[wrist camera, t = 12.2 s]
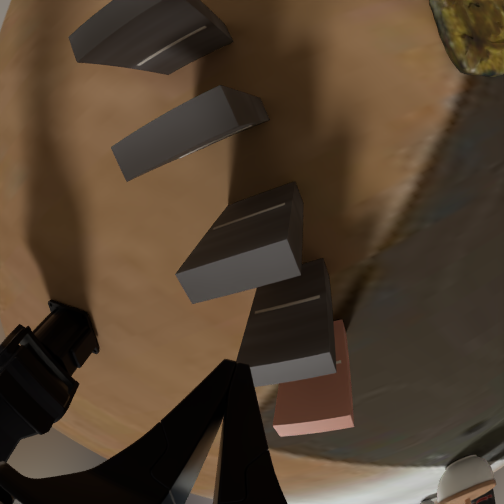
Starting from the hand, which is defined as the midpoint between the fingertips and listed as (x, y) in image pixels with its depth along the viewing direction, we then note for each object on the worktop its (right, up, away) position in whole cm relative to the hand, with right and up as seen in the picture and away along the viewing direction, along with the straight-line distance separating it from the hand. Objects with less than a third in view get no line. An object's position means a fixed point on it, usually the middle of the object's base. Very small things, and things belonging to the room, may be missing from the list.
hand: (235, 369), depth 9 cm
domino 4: (+4, +2, +13) cm, 14 cm away
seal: (+18, +22, +1) cm, 28 cm away
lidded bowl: (+43, -38, +26) cm, 63 cm away
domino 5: (+6, -3, +15) cm, 17 cm away
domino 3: (+1, +7, +11) cm, 13 cm away
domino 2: (-1, +12, +9) cm, 15 cm away
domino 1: (-3, +17, +7) cm, 19 cm away
